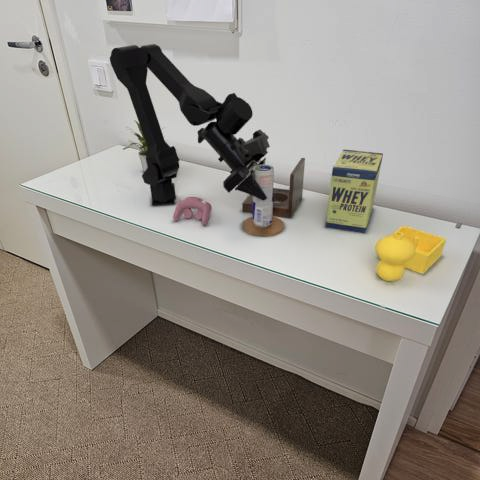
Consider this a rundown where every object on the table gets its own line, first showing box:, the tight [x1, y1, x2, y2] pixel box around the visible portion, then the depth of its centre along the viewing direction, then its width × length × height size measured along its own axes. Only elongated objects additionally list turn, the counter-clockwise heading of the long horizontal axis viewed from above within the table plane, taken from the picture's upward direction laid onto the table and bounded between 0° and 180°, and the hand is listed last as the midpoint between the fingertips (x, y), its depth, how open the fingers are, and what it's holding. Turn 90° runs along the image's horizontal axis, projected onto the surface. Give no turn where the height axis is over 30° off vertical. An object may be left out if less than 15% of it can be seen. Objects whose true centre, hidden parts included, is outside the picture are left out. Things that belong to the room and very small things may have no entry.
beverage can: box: [252, 164, 275, 227], centre depth 110 cm, size 5×5×15 cm
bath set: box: [375, 225, 447, 282], centre depth 95 cm, size 20×10×11 cm, turn 138°
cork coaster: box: [241, 216, 285, 237], centre depth 114 cm, size 11×11×1 cm
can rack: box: [242, 187, 302, 219], centre depth 124 cm, size 14×13×2 cm
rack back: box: [288, 157, 306, 219], centre depth 119 cm, size 1×13×12 cm, turn 161°
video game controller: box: [172, 196, 213, 227], centre depth 117 cm, size 10×5×7 cm, turn 71°
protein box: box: [325, 149, 384, 234], centre depth 113 cm, size 10×16×16 cm
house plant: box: [125, 119, 166, 173], centre depth 143 cm, size 14×14×16 cm
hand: (269, 194), depth 109 cm, fingers open, 5 cm apart
